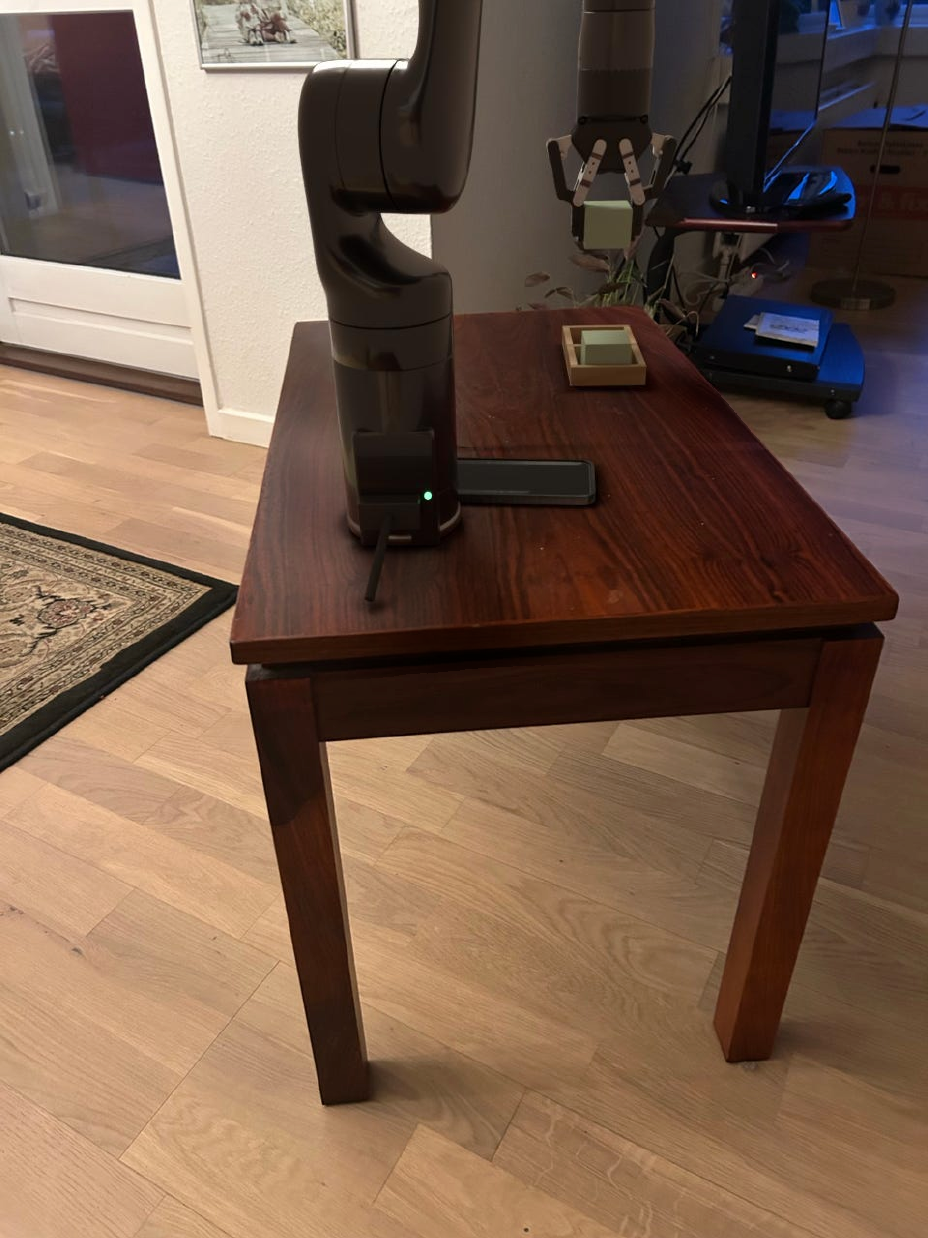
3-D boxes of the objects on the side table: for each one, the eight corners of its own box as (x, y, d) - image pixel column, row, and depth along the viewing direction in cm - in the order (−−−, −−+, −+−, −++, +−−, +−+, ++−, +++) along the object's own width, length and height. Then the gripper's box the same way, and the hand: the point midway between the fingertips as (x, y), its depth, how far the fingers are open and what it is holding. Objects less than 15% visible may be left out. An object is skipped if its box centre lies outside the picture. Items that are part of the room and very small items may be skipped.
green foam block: (629, 379, 104) (631, 343, 102) (583, 380, 105) (585, 344, 102) (623, 364, 109) (626, 329, 106) (580, 365, 109) (581, 330, 107)
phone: (431, 456, 88) (593, 459, 87) (432, 467, 89) (593, 470, 87) (420, 493, 81) (596, 497, 80) (421, 505, 82) (595, 509, 81)
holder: (644, 389, 103) (646, 366, 102) (570, 390, 104) (571, 367, 102) (627, 345, 116) (629, 324, 115) (561, 346, 117) (562, 325, 115)
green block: (630, 248, 103) (633, 208, 101) (584, 249, 103) (586, 209, 101) (624, 238, 107) (627, 200, 105) (580, 238, 107) (582, 201, 105)
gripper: (546, 67, 93) (542, 249, 102) (693, 63, 92) (675, 246, 102) (542, 62, 99) (539, 234, 108) (680, 58, 99) (665, 231, 108)
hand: (605, 239), depth 105 cm, fingers closed on green block, 5 cm apart
